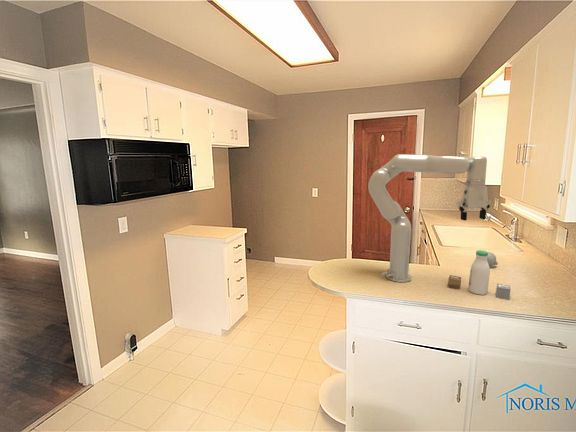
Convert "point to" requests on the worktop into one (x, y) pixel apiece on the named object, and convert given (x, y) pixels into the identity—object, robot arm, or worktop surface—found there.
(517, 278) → the worktop surface
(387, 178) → the robot arm
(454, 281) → the walnut block
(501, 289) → the slate grey block
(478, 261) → the milk bottle
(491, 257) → the chubby cartoon animal
